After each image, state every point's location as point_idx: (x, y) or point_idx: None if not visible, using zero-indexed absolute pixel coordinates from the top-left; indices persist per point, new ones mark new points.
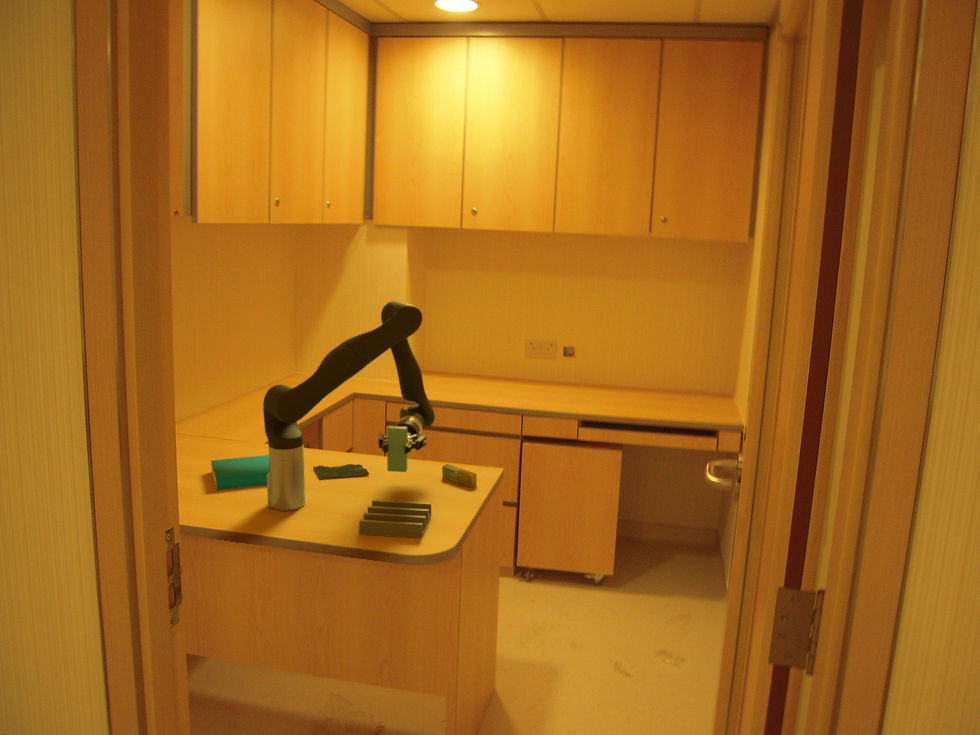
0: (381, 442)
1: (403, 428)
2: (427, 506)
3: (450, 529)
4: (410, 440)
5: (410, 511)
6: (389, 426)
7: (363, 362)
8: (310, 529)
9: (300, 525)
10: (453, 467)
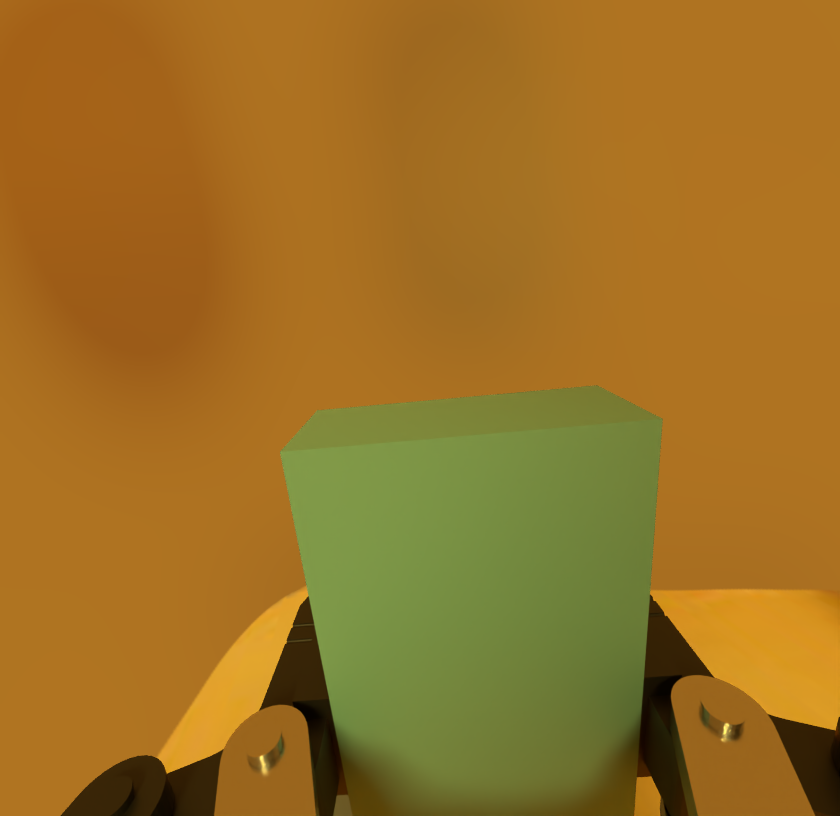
0: (810, 735)
1: (355, 412)
2: None
3: None
4: (263, 749)
5: None
6: (627, 411)
7: None
8: (746, 652)
9: (826, 677)
10: None
